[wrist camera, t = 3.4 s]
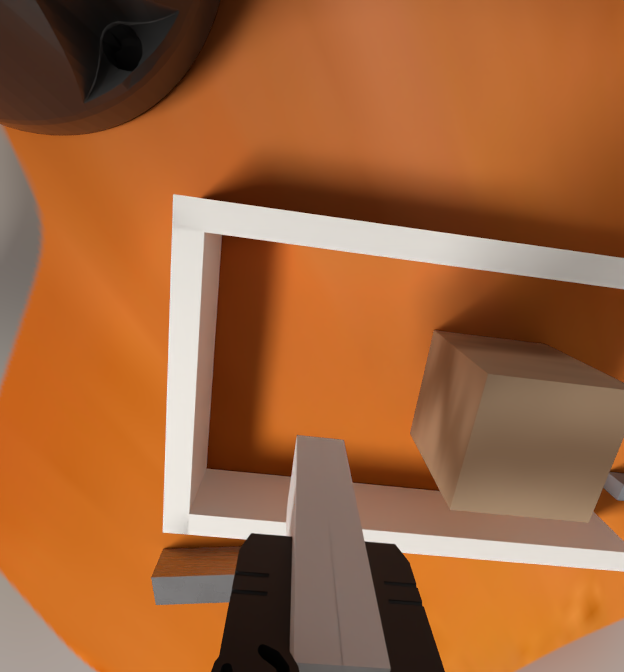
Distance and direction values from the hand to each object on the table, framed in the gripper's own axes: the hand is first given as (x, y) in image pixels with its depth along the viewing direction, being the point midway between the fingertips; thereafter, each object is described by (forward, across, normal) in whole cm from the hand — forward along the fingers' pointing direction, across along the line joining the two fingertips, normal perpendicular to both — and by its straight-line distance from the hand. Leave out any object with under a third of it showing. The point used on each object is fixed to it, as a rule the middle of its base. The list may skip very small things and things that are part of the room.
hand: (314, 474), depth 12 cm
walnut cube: (+8, +9, 0) cm, 12 cm away
